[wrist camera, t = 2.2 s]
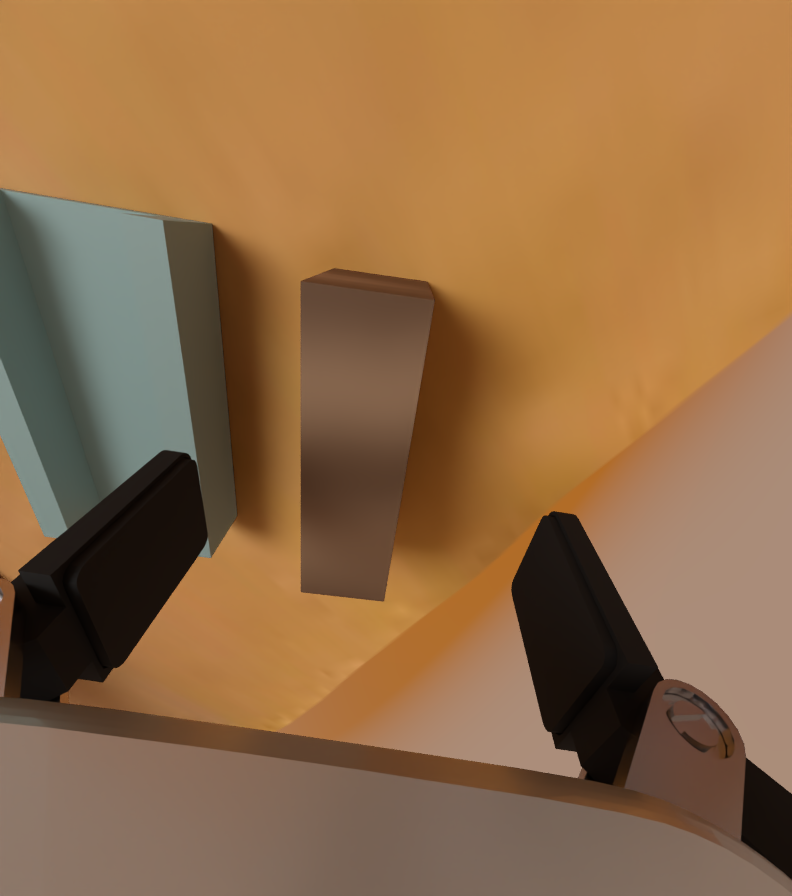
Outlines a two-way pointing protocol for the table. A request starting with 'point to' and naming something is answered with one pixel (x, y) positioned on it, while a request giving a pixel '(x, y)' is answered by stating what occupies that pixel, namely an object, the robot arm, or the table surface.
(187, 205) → the table surface
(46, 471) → the grey-blue channel block
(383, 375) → the walnut strip
